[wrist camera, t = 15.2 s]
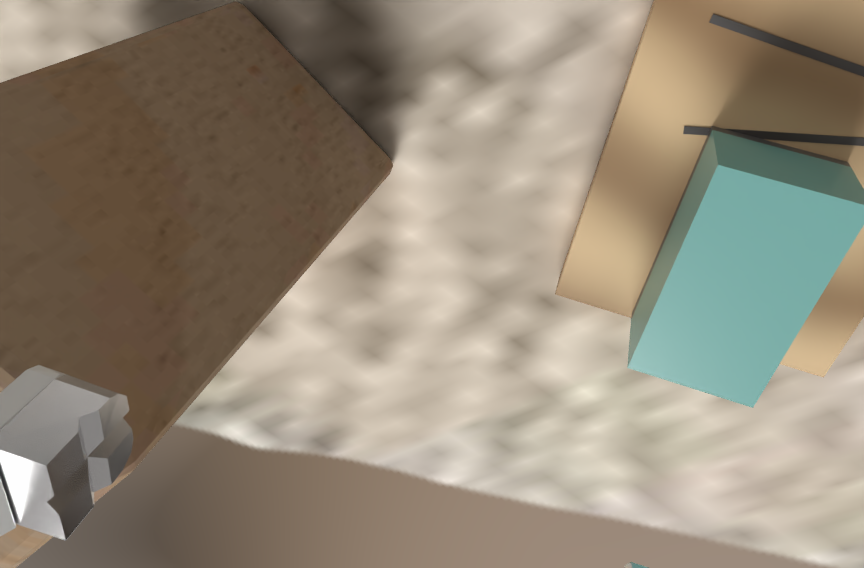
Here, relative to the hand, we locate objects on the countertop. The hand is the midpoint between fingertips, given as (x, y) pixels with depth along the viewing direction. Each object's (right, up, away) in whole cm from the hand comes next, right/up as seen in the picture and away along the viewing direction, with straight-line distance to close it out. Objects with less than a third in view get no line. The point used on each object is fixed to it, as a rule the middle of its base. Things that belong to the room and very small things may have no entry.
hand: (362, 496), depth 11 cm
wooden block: (-7, +10, +23) cm, 27 cm away
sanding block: (+13, +5, +18) cm, 23 cm away
